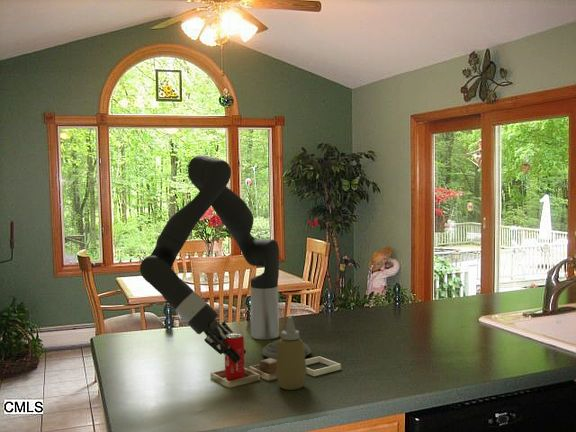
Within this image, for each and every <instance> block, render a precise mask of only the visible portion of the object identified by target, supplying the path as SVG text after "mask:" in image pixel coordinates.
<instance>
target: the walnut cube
mask: <svg viewBox="0 0 576 432" xmlns="http://www.w3.org/2000/svg"><path fill="white" fill-rule="evenodd" d="M276 361H277V359H273V358H268V357H267V358H265V359H262V360H260V361H259V364H260V371H262V372H264V373H267V374H272V373H276Z"/></svg>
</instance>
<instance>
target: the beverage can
mask: <svg viewBox="0 0 576 432" xmlns="http://www.w3.org/2000/svg"><path fill="white" fill-rule="evenodd" d="M225 337H226V338H227V342H228V344H229V345H230V346H231V348H233V349H234V350H235V351H236V352H237V353H238V354H239V355H240V356H241V359H240V360H239V361H238V362H237V363H234V362H233V361H232V360H231V359H230V358H229V357H228V356H227V355H226V354H224V370H225V378H226V380H228V381H232V380H236V379H240V378H244V377H245V375H246V374H245V372H244V367H245V354H244V349H245V346H244V345H245V341H244V339H245V338H244V336H243V334H242V333H239V332H234V333H230V334H226V335H225Z"/></svg>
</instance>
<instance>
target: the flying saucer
mask: <svg viewBox="0 0 576 432" xmlns="http://www.w3.org/2000/svg"><path fill="white" fill-rule="evenodd" d="M280 339H281V338H279V339H276V340H272V341H271V342H269V343H268V344H266V345H265V346H264V347H263V349H262V350H261V354H262V356H264V357H266V358H267V359H268V358H273V359H277V348H278V341H279V340H280ZM303 345H304V353H305V357H307V356H308V355H310V354H311V353H312V350H311V348H310V347H309V345H307V344H306V343H305V342H303Z"/></svg>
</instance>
